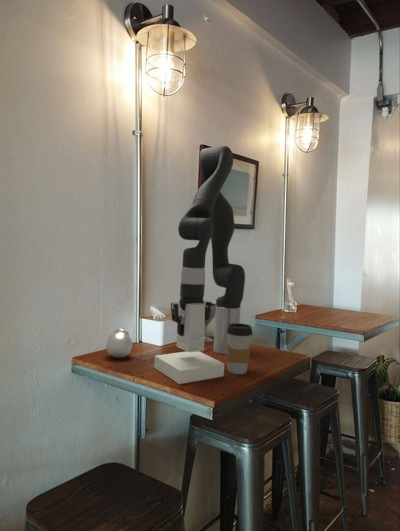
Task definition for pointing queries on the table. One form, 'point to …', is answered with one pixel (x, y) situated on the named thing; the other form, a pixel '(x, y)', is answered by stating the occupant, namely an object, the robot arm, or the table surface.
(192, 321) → the skincare box
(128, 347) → the silver egg shape
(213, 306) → the wine glass
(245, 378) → the table surface
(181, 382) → the block
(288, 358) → the table surface
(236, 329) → the coffee cup
